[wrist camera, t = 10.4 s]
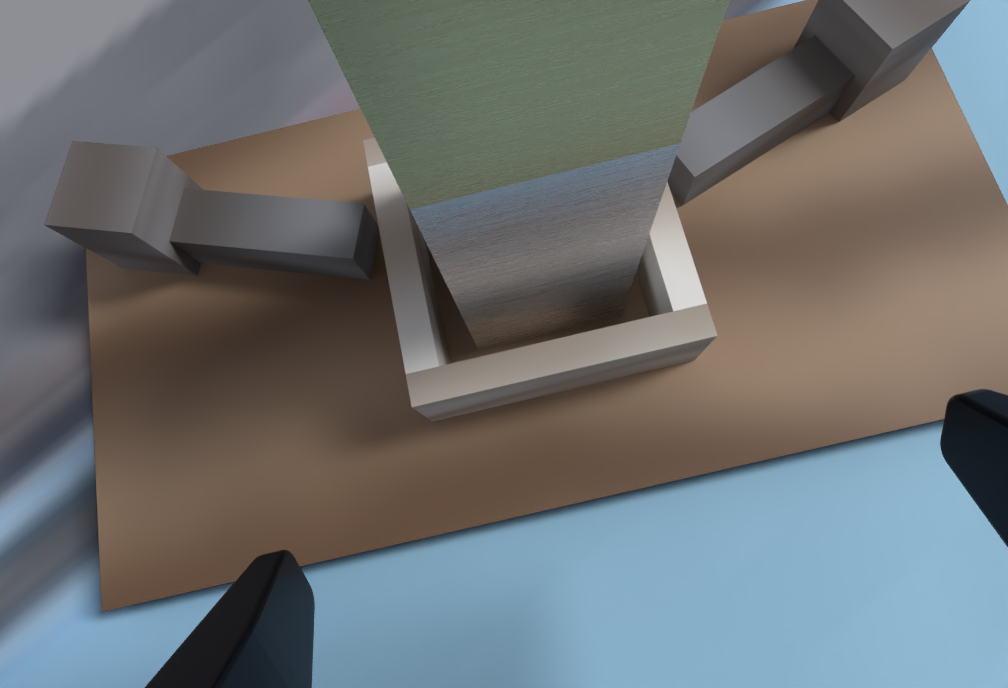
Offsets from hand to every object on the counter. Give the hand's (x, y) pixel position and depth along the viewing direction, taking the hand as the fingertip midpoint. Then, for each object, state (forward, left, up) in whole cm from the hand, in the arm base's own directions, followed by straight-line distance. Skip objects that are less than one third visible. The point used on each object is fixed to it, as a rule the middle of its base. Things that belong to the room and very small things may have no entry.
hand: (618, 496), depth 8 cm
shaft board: (+6, -1, -9) cm, 11 cm away
